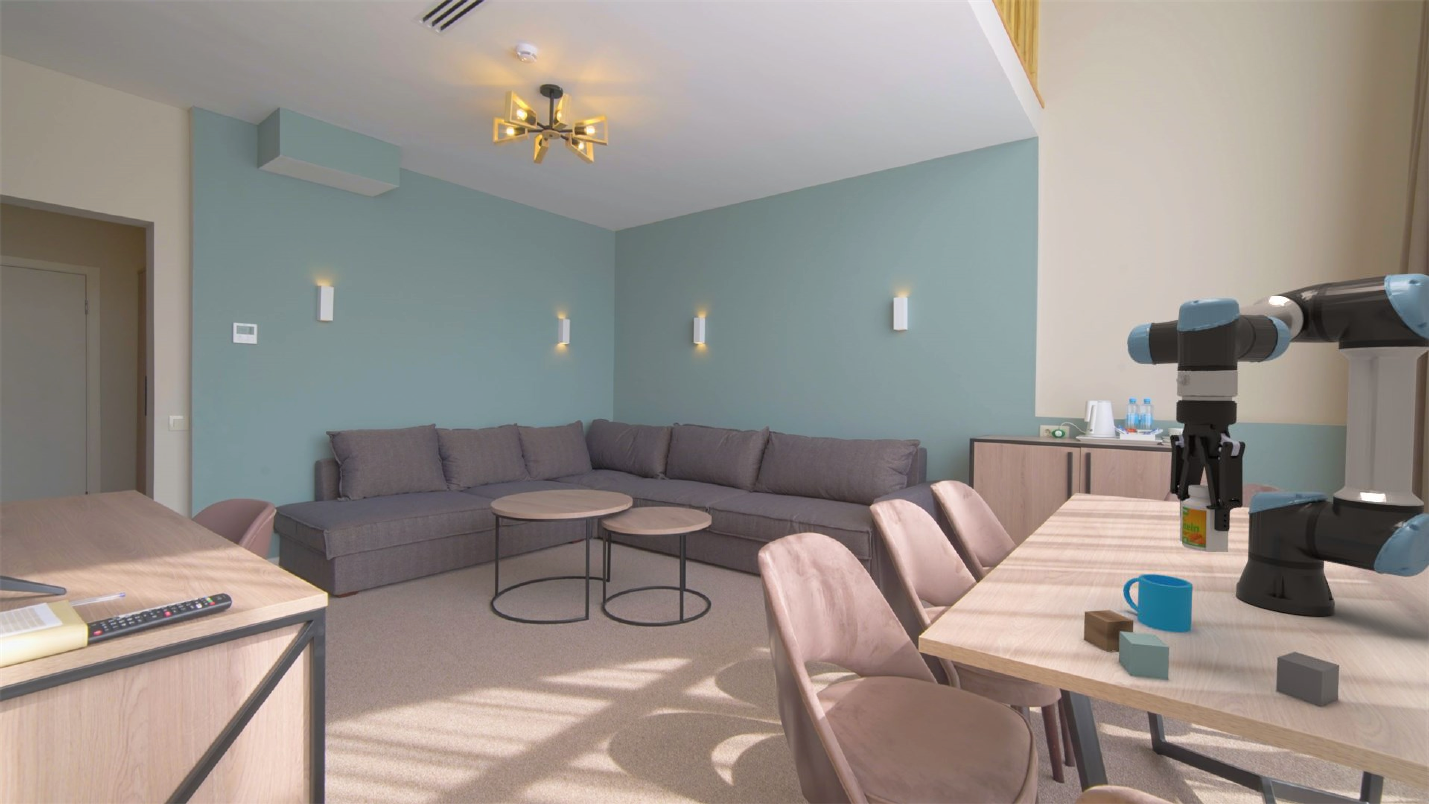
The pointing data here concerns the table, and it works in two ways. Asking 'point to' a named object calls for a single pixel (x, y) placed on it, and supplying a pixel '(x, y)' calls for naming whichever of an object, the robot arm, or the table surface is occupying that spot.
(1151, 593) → the mug
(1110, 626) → the walnut cube
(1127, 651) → the teal cube
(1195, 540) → the supplement bottle
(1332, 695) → the charcoal cube
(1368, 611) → the table surface
